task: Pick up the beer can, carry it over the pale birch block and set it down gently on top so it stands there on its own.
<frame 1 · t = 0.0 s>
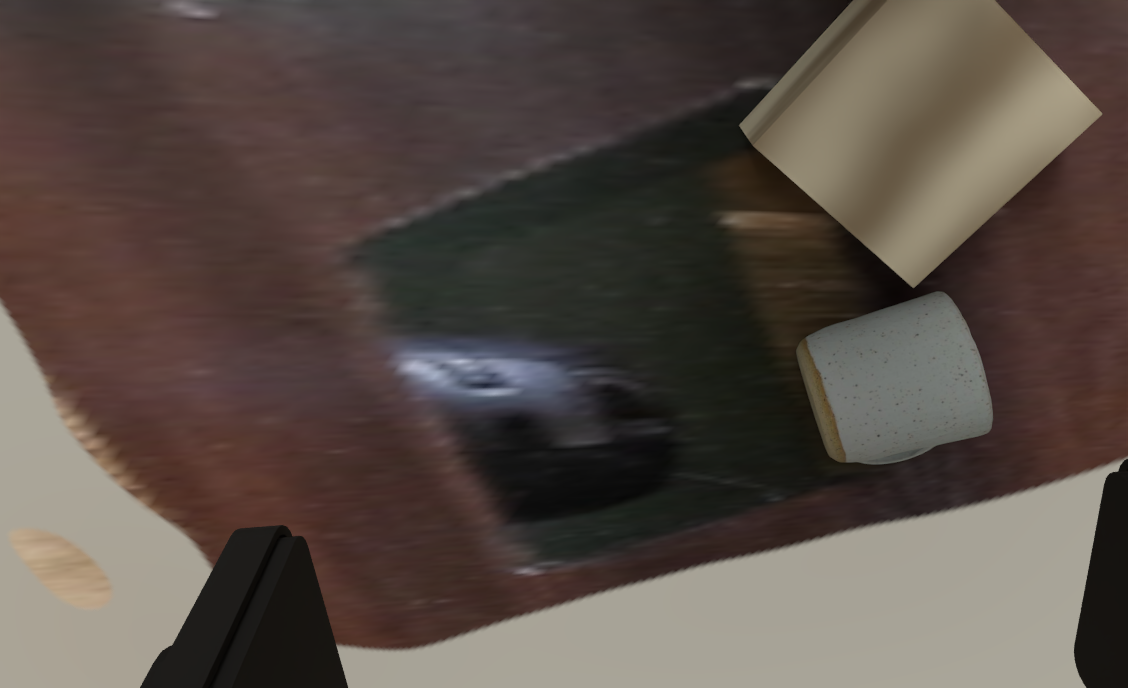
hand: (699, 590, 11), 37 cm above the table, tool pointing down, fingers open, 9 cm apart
birch block: (898, 110, 45), on the table
ceramic mug: (877, 366, 52), on the table
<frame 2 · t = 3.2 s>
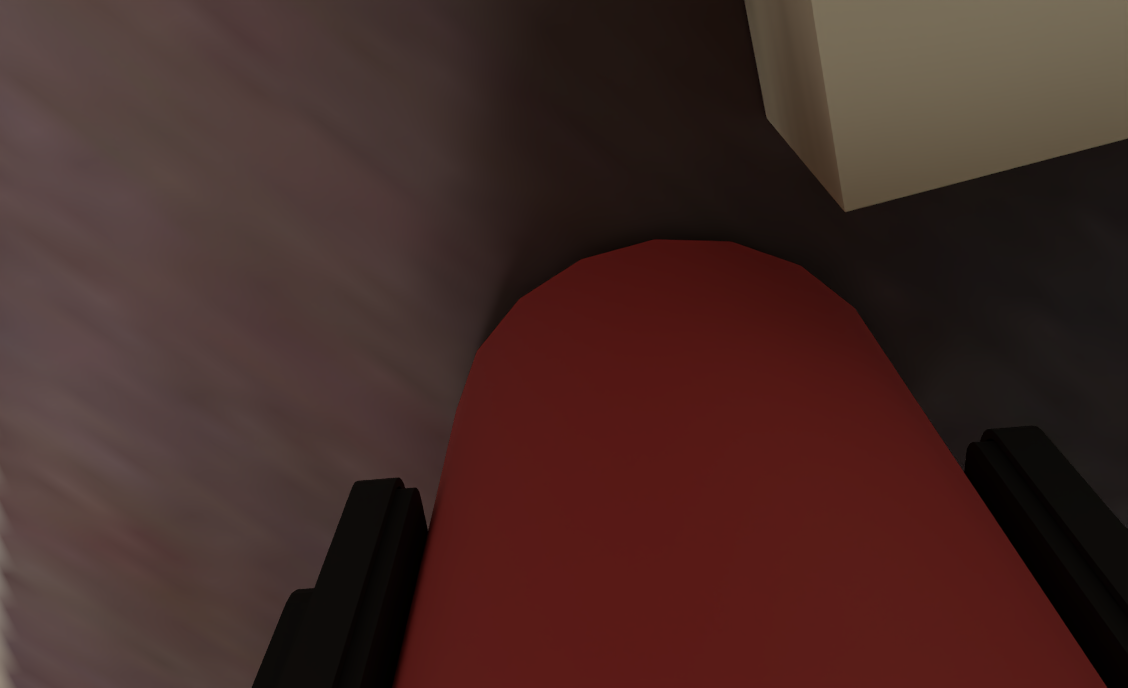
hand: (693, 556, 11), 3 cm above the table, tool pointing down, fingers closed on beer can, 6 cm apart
beer can: (669, 416, 15), on the table, touching gripper
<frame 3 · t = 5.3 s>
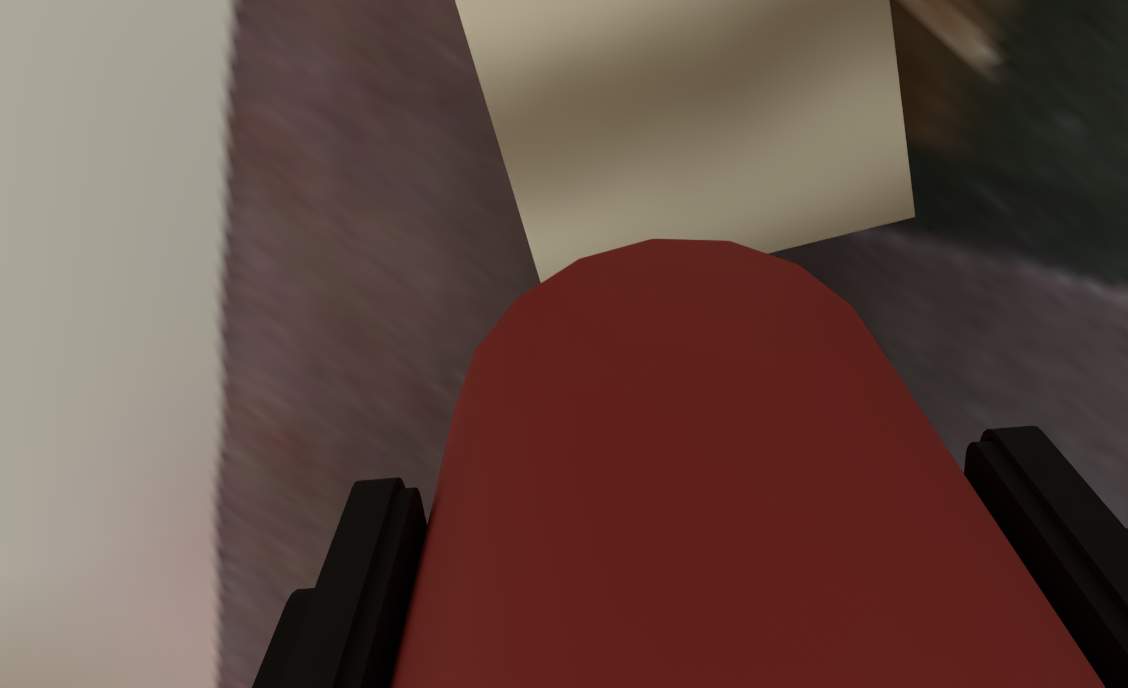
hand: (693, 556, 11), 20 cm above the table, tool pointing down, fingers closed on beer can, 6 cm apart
birch block: (673, 58, 29), on the table
beer can: (667, 416, 15), point 17 cm above the table, touching gripper
when the fingers open (8 cm above the table, at t = 7.7 s): beer can stays where it is, resting on birch block.
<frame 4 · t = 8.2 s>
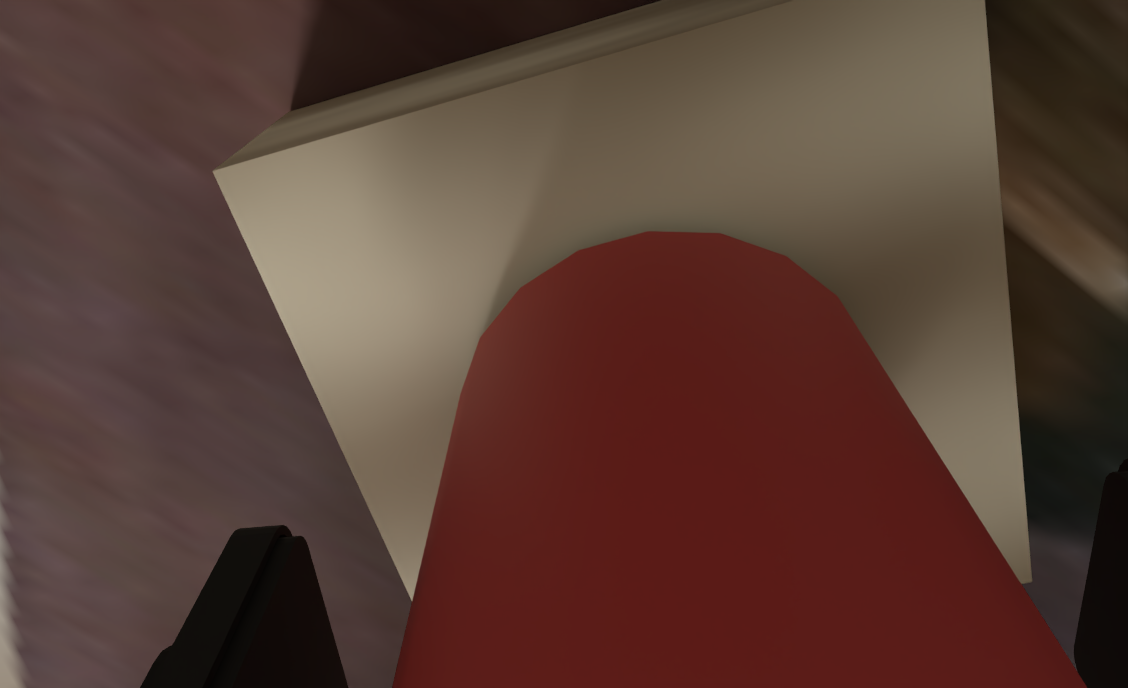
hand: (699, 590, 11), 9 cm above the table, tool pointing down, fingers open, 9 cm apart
birch block: (648, 300, 19), on the table
beer can: (662, 401, 15), point 4 cm above the table, touching birch block
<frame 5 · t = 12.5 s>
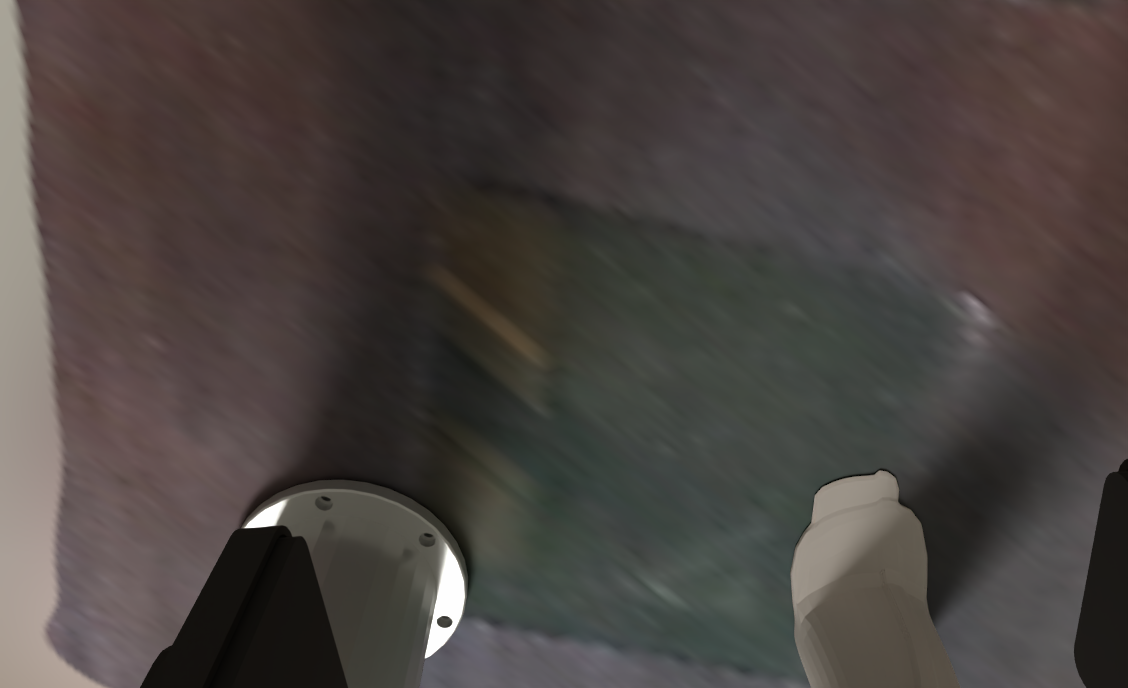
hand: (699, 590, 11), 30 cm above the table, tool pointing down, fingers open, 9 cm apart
grey tall piece: (856, 576, 50), on the table
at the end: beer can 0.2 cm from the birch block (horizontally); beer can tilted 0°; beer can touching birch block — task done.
